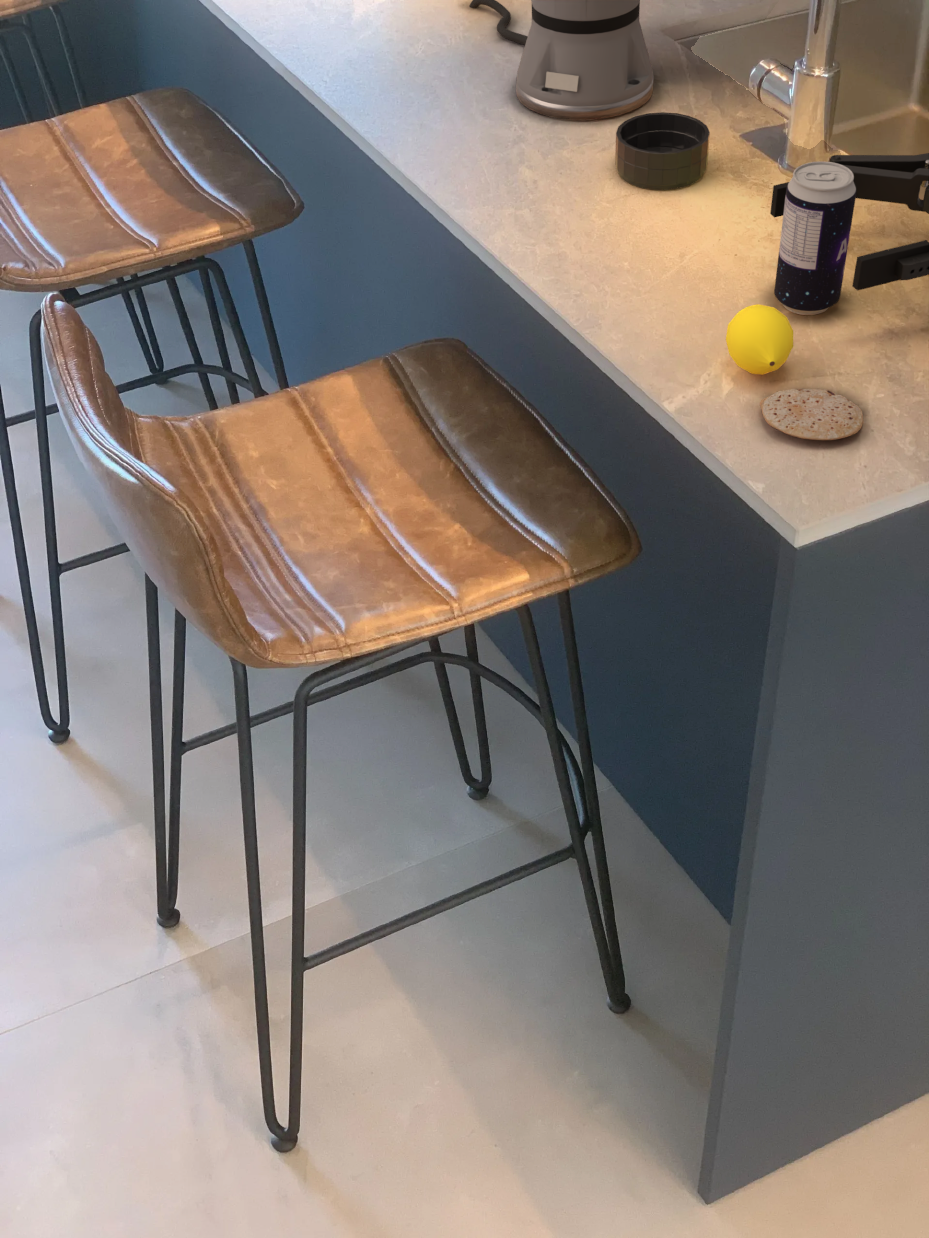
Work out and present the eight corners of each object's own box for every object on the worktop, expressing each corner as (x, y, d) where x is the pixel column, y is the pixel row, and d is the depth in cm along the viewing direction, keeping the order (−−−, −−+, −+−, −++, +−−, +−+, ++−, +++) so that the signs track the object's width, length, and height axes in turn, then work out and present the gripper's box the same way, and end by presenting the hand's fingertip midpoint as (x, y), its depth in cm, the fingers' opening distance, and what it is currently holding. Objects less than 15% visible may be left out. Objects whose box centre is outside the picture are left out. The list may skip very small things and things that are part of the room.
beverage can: (838, 322, 121) (858, 192, 113) (771, 317, 122) (786, 189, 114) (839, 287, 125) (859, 160, 117) (774, 283, 126) (789, 157, 118)
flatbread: (864, 401, 113) (866, 391, 112) (859, 452, 108) (861, 440, 107) (763, 388, 115) (764, 378, 114) (752, 437, 109) (754, 426, 109)
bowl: (609, 153, 146) (610, 116, 143) (696, 146, 146) (699, 109, 144) (623, 194, 139) (624, 156, 137) (714, 187, 140) (717, 149, 137)
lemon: (715, 347, 119) (720, 291, 115) (778, 342, 119) (785, 285, 115) (734, 395, 114) (740, 338, 110) (800, 388, 114) (808, 331, 110)
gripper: (1107, 290, 118) (888, 348, 113) (936, 166, 135) (739, 212, 130) (1133, 207, 113) (904, 265, 108) (951, 89, 130) (746, 135, 125)
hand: (813, 236), depth 119 cm, fingers open, 13 cm apart
